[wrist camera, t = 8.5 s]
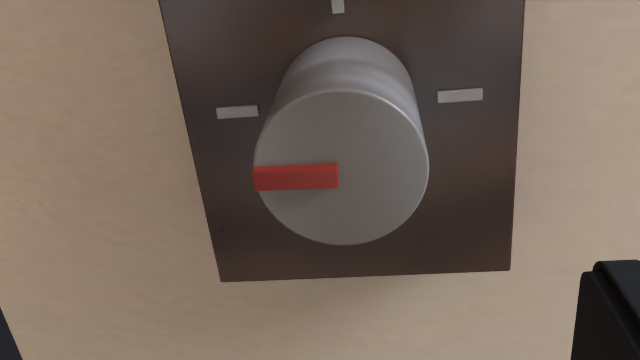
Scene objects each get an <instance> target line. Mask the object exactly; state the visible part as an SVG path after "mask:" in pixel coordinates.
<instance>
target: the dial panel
mask: <svg viewBox="0 0 640 360" xmlns="http://www.w3.org/2000/svg"><path fill="white" fill-rule="evenodd" d="M158 2H159V6H160V11H161V15H162V20H163V24H164V29H165V33H166V38H167V42H168V47H169V51H170V56H171V60H172V65H173V69H174V74H175V78H176V83H177V87H178V92H179V96H180V101H181V105H182V110H183V114H184V119H185V123H186V128H187V132H188V137H189V141H190V146H191V150H192V155H193V159H194V164H195V168H196V173H197V177H198V182H199V186H200V191H201V195H202V200H203V204H204V209H205V213H206V218H207V222H208V227H209V231H210V236H211V240H212V245H213V249H214V254H215V258H216V263H217V267H218V272H219V276H220V281H221V282H242V281H267V280H292V279H317V278H341V277H366V276H391V275H415V274H440V273H465V272H489V271H509V270H510V267H511V249H512V230H513V212H514V194H515V175H516V157H517V139H518V120H519V102H520V84H521V65H522V47H523V28H524V10H525V0H158ZM335 37H358V38H363V39H367V40H370V41H373V42H375V43H377V44H379V45H381V46H383V47H385V48H386V49H388V50H389V51H390V52H391V53H393V54H394V55H395V56H396V57H397V58H398V59H399V60H400V61H401V63H402V64H403V65H404V67H405V68H406V70H407V72H408V74H409V76H410V78H411V81H412V84H413V88H414V92H415V97H416V102H417V106H418V111H419V115H420V120H421V125H422V129H423V134H424V138H425V143H426V148H427V152H428V157H429V178H428V183H427V187H426V190H425V193H424V195H423V198H422V200H421V201H420V203H419V205H418V207H417V208H416V209H415V211H414V212H413V213H412V215H411V216H410V217H409V218H408V219H407V220H406V221H405V222H404V223H403V224H402V225H400V226H399V227H398V228H397V229H395V230H394V231H392V232H390V233H389V234H387V235H385V236H383V237H381V238H378V239H376V240H373V241H370V242H367V243H361V244H356V245H330V244H324V243H320V242H316V241H312V240H310V239H307V238H304V237H302V236H300V235H298V234H296V233H294V232H293V231H291V230H290V229H288V228H287V227H285V226H284V225H283V224H282V223H281V222H280V221H278V220H277V219H276V217H275V216H274V215H273V214H272V213H271V212H270V211H269V209H268V208H267V206H266V205H265V203H264V202H263V200H262V198H261V196H260V194H259V191H255V190H254V183H253V176H252V171H253V160H254V152H255V147H256V143H257V141H258V138H259V135H260V133H261V131H262V128H263V126H264V123H265V121H266V118H267V116H268V113H269V111H270V109H271V106H272V104H273V101H274V99H275V96H276V94H277V92H278V89H279V87H280V84H281V82H282V79H283V77H284V75H285V73H286V71H287V69H288V67H289V66H290V65H291V63H292V62H293V61H294V59H295V58H296V57H297V56H298V55H299V54H300V53H302V52H303V51H304V50H306V49H307V48H309V47H310V46H312V45H314V44H316V43H318V42H321V41H323V40H326V39H330V38H335Z"/></svg>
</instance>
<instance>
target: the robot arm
mask: <svg viewBox="0 0 640 360" xmlns="http://www.w3.org/2000/svg"><path fill="white" fill-rule="evenodd" d="M0 360H23V359H22V357H21V355H20V352H19V350H18V348H17V345H16V343H15V341H14V338H13V336H12V334H11V331H10V329H9V327H8V324H7V322H6V320H5V317H4V315H3V313H2V310H1V308H0ZM571 360H640V261H639V260H616V261H598V262H596V263H595V265H594V267H593V270H592V271H589V272H584V273H583V274H582V276H581V280H580V288H579V296H578V304H577V312H576V321H575V329H574V337H573V345H572V353H571Z"/></svg>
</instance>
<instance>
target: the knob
mask: <svg viewBox="0 0 640 360" xmlns="http://www.w3.org/2000/svg"><path fill="white" fill-rule="evenodd" d="M252 176H253V183H254V190H255V191H259V194H260V196H261V198H262V200H263V202H264V203H265V205H266V206H267V208H268V209H269V211H270V212H271V213H272V214H273V215H274V216H275V217H276V219H277V220H278V221H280V222H281V223H282V224H283V225H284V226H285V227H287V228H288V229H290V230H291V231H293V232H294V233H296V234H298V235H300V236H302V237H304V238H307V239H310V240H312V241H316V242H320V243H324V244H330V245H356V244H361V243H367V242H370V241H373V240H376V239H378V238H381V237H383V236H385V235H387V234H389V233H390V232H392V231H394V230H395V229H397V228H398V227H399V226H400V225H402V224H403V223H404V222H405V221H406V220H407V219H408V218H409V217H410V216H411V215H412V213H413V212H414V211H415V209H416V208H417V207H418V205H419V203H420V201H421V200H422V198H423V195H424V193H425V190H426V187H427V183H428V178H429V157H428V152H427V148H426V143H425V138H424V134H423V129H422V125H421V120H420V115H419V111H418V106H417V102H416V97H415V92H414V88H413V84H412V81H411V78H410V76H409V74H408V72H407V70H406V68H405V67H404V65H403V64H402V63H401V61H400V60H399V59H398V58H397V57H396V56H395V55H394V54H393V53H391V52H390V51H389V50H388V49H386V48H385V47H383V46H381V45H379V44H377V43H375V42H373V41H370V40H367V39H363V38H358V37H335V38H330V39H326V40H323V41H321V42H318V43H316V44H314V45H312V46H310V47H309V48H307V49H306V50H304V51H303V52H302V53H300V54H299V55H298V56H297V57H296V58H295V59H294V61H293V62H292V63H291V65H290V66H289V67H288V69H287V71H286V73H285V75H284V77H283V79H282V82H281V84H280V87H279V89H278V92H277V94H276V96H275V99H274V101H273V104H272V106H271V109H270V111H269V113H268V116H267V118H266V121H265V123H264V126H263V128H262V131H261V133H260V135H259V138H258V141H257V143H256V147H255V152H254V160H253V171H252Z"/></svg>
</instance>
